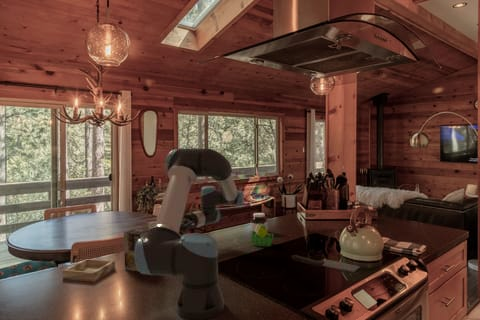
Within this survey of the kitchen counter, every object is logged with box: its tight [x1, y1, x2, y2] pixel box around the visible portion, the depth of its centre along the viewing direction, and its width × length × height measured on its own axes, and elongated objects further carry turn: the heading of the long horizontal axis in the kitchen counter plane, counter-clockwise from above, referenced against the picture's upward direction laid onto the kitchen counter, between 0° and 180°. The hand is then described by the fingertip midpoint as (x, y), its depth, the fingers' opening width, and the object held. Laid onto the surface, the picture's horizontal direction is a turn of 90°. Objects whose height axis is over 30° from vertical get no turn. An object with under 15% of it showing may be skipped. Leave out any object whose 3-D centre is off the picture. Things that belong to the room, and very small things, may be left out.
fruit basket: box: [250, 225, 274, 247], centre depth 175 cm, size 11×9×11 cm
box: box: [62, 258, 116, 283], centre depth 137 cm, size 14×14×4 cm
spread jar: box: [250, 212, 269, 234], centre depth 197 cm, size 12×11×12 cm
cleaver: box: [291, 254, 361, 273], centre depth 146 cm, size 29×10×2 cm, turn 59°
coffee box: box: [123, 228, 148, 273], centre depth 143 cm, size 9×6×16 cm
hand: (156, 228), depth 150 cm, fingers open, 13 cm apart
